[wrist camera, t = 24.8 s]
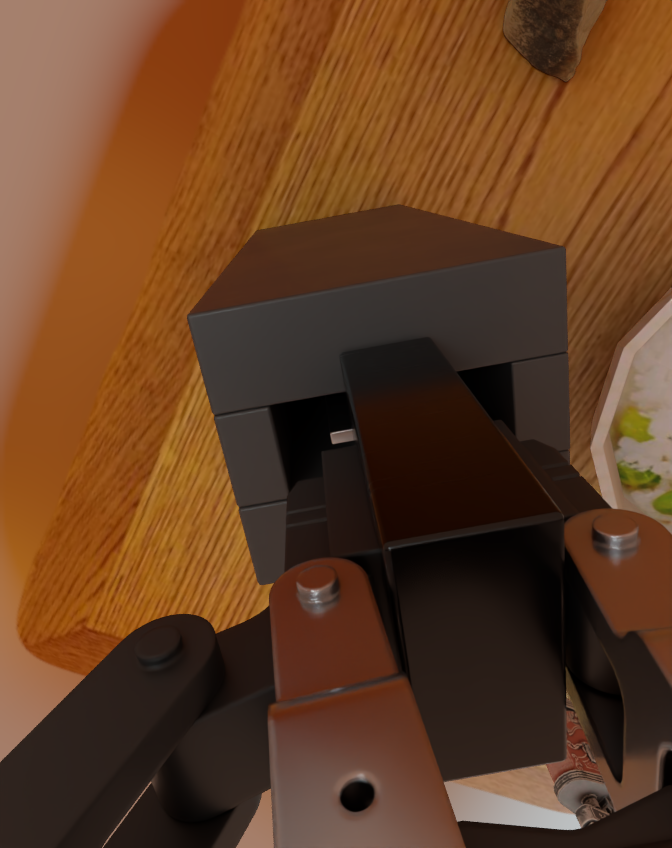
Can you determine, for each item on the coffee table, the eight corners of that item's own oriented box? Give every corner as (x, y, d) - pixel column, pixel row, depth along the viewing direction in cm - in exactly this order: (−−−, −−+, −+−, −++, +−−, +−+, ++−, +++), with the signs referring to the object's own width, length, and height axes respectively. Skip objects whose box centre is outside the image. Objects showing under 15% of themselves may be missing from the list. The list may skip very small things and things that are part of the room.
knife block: (281, 353, 35) (258, 587, 15) (255, 230, 33) (185, 314, 12) (415, 328, 35) (572, 531, 15) (400, 204, 33) (567, 246, 12)
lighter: (612, 721, 49) (686, 848, 39) (585, 748, 50) (651, 878, 40) (538, 683, 47) (597, 808, 37) (510, 712, 48) (562, 840, 38)
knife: (325, 374, 24) (385, 795, 8) (306, 272, 22) (336, 554, 6) (400, 360, 24) (607, 757, 8) (387, 257, 22) (613, 505, 6)
